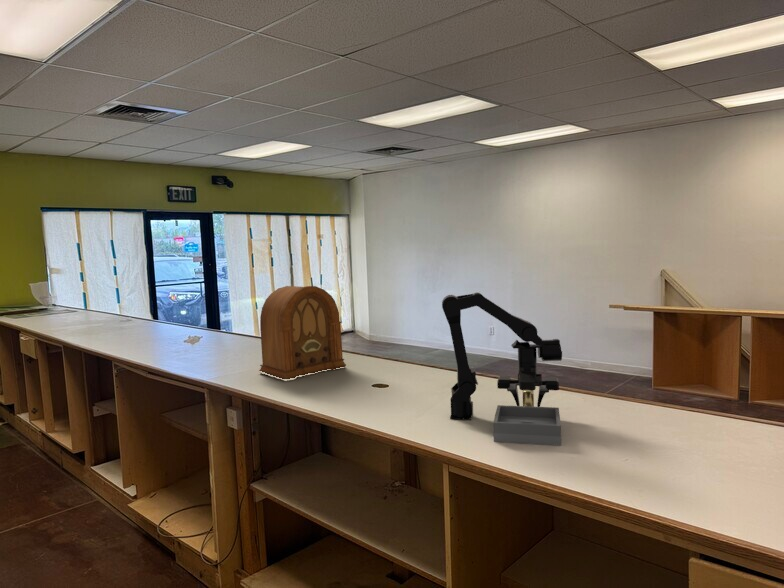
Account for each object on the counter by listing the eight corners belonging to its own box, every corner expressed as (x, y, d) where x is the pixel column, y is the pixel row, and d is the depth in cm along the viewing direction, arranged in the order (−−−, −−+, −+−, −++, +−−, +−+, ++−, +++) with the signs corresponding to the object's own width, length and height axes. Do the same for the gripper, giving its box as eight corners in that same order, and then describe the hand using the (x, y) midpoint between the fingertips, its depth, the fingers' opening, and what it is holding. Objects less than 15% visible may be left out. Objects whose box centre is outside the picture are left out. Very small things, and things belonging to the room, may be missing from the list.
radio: (285, 382, 222) (279, 289, 219) (259, 374, 239) (253, 288, 236) (346, 367, 244) (341, 283, 241) (318, 361, 261) (313, 282, 258)
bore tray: (493, 441, 145) (493, 422, 145) (498, 422, 160) (497, 405, 160) (561, 445, 140) (560, 425, 140) (559, 425, 155) (558, 407, 155)
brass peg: (522, 417, 164) (522, 392, 164) (523, 413, 168) (522, 389, 167) (534, 417, 163) (533, 392, 163) (534, 414, 167) (533, 389, 166)
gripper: (495, 366, 159) (496, 416, 160) (559, 367, 154) (560, 419, 155) (498, 358, 169) (499, 405, 171) (557, 359, 164) (558, 407, 166)
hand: (528, 409), depth 165 cm, fingers open, 6 cm apart
